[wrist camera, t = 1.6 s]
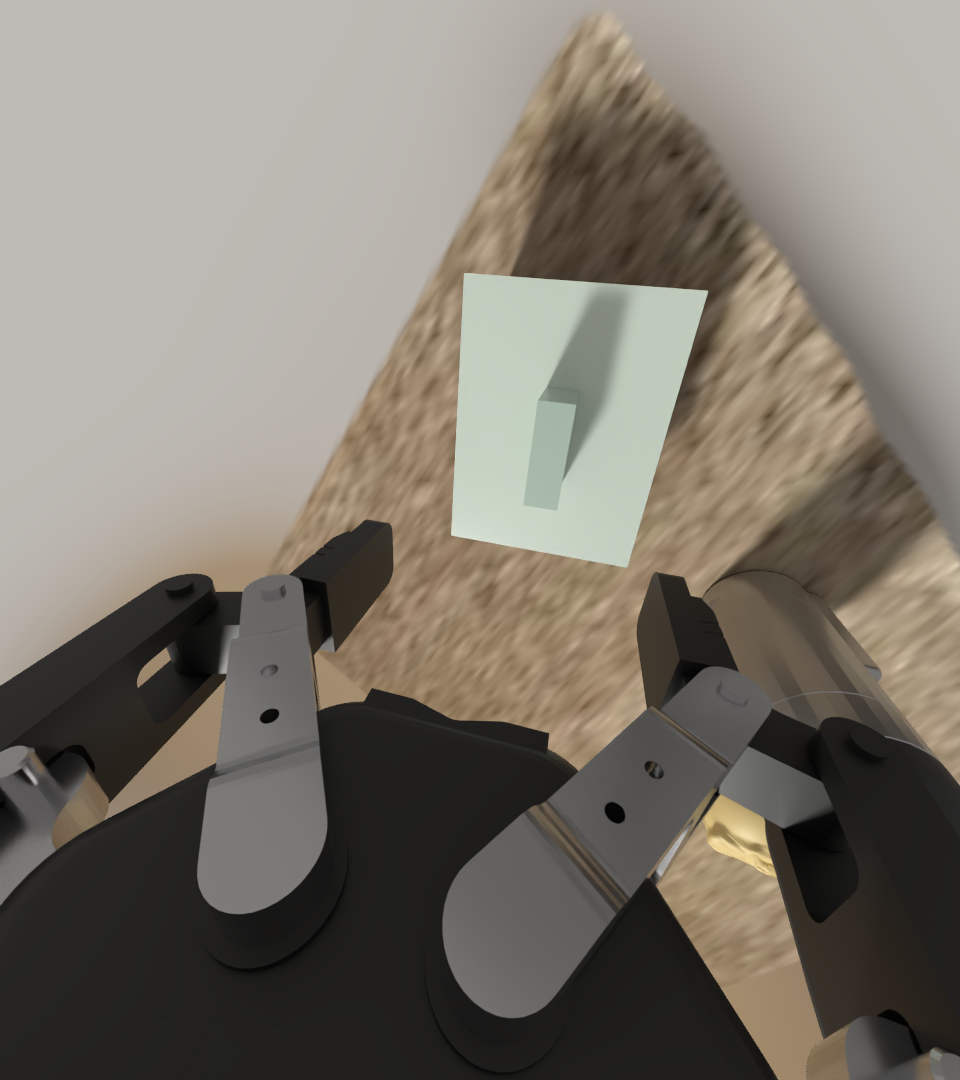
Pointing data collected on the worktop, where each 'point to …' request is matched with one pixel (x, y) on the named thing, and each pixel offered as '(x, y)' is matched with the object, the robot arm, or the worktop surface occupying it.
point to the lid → (565, 409)
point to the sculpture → (738, 834)
